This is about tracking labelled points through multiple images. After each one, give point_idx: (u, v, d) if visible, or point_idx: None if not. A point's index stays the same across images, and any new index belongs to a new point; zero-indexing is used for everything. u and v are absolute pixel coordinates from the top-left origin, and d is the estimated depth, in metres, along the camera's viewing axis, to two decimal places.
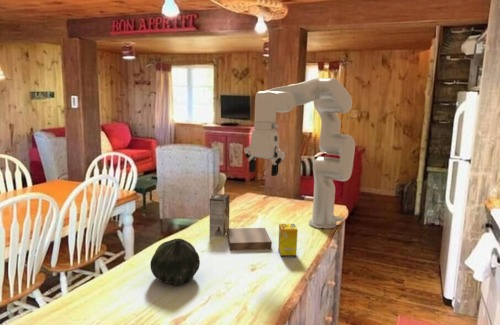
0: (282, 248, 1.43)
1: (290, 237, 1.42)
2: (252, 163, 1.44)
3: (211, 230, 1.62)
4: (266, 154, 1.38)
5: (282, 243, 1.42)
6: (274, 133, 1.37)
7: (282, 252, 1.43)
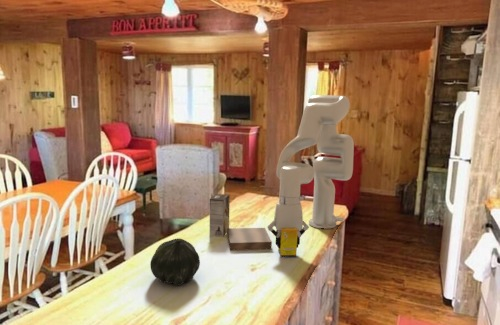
0: (282, 248, 1.42)
1: (290, 237, 1.42)
2: None
3: (211, 230, 1.62)
4: (296, 226, 1.42)
5: (282, 243, 1.42)
6: None
7: (282, 252, 1.43)
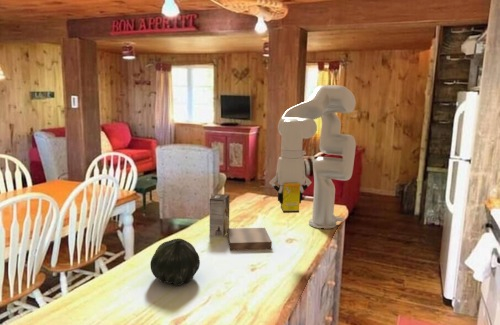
0: (285, 203, 1.40)
1: (293, 192, 1.39)
2: None
3: (211, 230, 1.62)
4: (298, 181, 1.40)
5: (285, 198, 1.40)
6: (303, 160, 1.40)
7: (285, 207, 1.40)
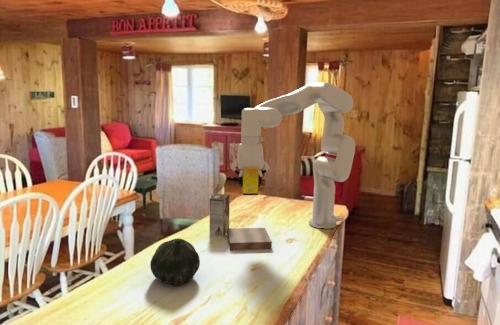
0: (244, 186, 1.50)
1: (252, 176, 1.49)
2: (242, 178, 1.52)
3: (211, 230, 1.62)
4: (257, 166, 1.50)
5: (244, 181, 1.50)
6: (262, 146, 1.50)
7: (244, 190, 1.50)
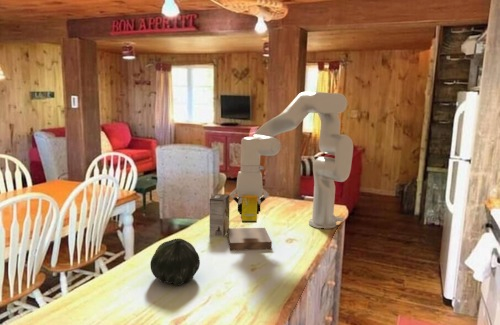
0: (243, 214, 1.52)
1: (250, 203, 1.51)
2: (241, 205, 1.53)
3: (211, 230, 1.62)
4: (256, 194, 1.52)
5: (243, 209, 1.51)
6: (261, 174, 1.52)
7: (243, 218, 1.52)
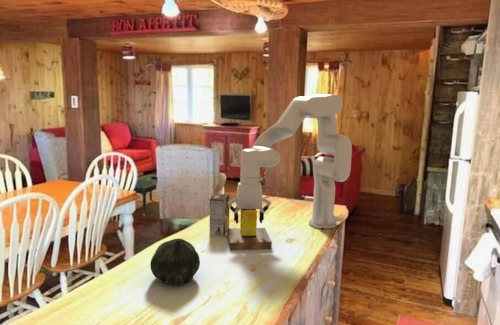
0: (243, 229, 1.53)
1: (250, 218, 1.52)
2: None
3: (211, 230, 1.62)
4: (256, 205, 1.53)
5: (243, 224, 1.52)
6: None
7: (243, 233, 1.53)
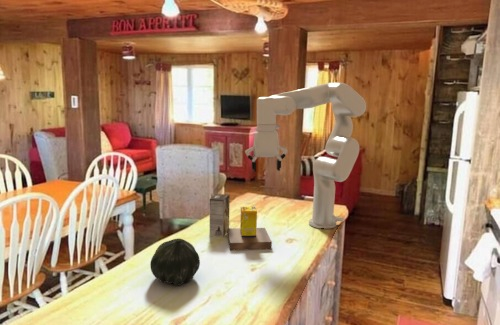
0: (243, 229, 1.53)
1: (250, 218, 1.52)
2: (255, 163, 1.56)
3: (211, 230, 1.62)
4: (273, 153, 1.55)
5: (243, 224, 1.52)
6: (277, 133, 1.56)
7: (243, 233, 1.53)
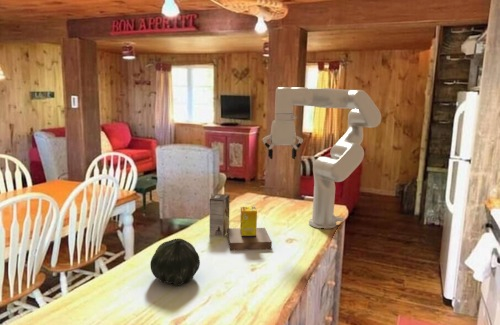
0: (243, 229, 1.53)
1: (250, 218, 1.52)
2: None
3: (211, 230, 1.62)
4: (290, 141, 1.61)
5: (243, 224, 1.52)
6: (294, 123, 1.62)
7: (243, 233, 1.53)
